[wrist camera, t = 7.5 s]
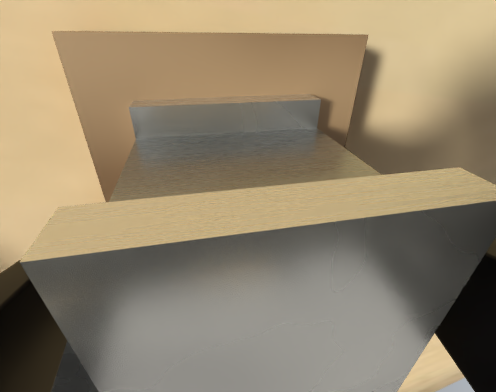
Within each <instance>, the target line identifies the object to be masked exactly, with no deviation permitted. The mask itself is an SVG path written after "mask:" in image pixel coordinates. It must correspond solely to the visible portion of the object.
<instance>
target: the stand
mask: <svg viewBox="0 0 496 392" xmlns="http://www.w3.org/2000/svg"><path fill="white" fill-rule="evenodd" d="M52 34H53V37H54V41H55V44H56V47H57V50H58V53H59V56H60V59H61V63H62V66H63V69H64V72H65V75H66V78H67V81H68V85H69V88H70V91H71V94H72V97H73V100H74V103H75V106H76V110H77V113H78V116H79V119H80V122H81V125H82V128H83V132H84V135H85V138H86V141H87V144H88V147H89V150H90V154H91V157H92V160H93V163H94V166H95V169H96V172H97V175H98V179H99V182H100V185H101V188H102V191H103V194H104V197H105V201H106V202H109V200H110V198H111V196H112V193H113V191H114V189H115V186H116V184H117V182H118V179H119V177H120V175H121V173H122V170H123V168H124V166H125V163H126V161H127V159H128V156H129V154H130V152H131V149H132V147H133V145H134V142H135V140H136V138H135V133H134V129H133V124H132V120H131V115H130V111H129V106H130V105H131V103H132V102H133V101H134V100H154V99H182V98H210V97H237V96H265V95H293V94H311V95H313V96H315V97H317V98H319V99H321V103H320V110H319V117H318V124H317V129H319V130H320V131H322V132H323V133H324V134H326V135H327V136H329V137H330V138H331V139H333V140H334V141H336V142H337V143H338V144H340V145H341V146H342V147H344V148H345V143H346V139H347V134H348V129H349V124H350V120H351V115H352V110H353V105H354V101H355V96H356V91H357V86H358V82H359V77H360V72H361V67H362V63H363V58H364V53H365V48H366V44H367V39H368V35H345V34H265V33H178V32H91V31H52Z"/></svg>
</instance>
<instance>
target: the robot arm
mask: <svg viewBox="0 0 496 392" xmlns="http://www.w3.org/2000/svg"><path fill="white" fill-rule="evenodd" d="M21 260H22V259H21ZM21 260H19V261H18V262H16V263H15V264H13V265H12V266H10V267H9V268H7V269H6V270H5V271H3V272H2V273H0V392H51V390H52V387H53V384H54V381H55V378H56V375H57V372H58V368H59V365H60V362H61V359H62V356H63V353H64V350H65V347H66V343H67V339H66V338H65V336H64V334H63V333H62V331H61V329H60V328H59V326H58V324H57V323H56V321H55V320H54V318H53V316H52V315H51V313H50V311H49V310H48V308H47V306H46V305H45V303H44V302H43V300H42V298H41V297H40V295H39V293H38V292H37V290H36V288H35V287H34V285H33V284H32V282H31V280H30V279H29V277H28V275H27V274H26V272H25V271H24V269H23V267H22V266H21V264H20V261H21ZM435 334H436V336H437V337H438V338H439V340H440V341H441V343H442V344H443V346H444V347H445V349H446V350H447V352H448V353H449V355H450V356H451V357H452V359H453V360H454V362H455V363H456V365H457V366H458V368H459V369H460V371H461V372H462V374H463V375H464V376H465V378H466V379H467V381H468V382H469V384H470V385H471V387H472V388H473V390H474V391H475V392H496V237H495V239H494V241H493V242H492V244H491V245H490V247H489V248H488V250H487V252H486V253H485V255H484V256H483V258H482V259H481V261H480V263H479V264H478V266H477V267H476V269H475V270H474V272H473V273H472V275H471V277H470V278H469V280H468V281H467V283H466V284H465V286H464V288H463V289H462V291H461V292H460V294H459V295H458V297H457V299H456V300H455V302H454V303H453V305H452V306H451V308H450V309H449V311H448V313H447V314H446V316H445V317H444V319H443V320H442V322H441V324H440V325H439V327H438V328H437V330H436V331H435Z"/></svg>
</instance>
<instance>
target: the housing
mask: <svg viewBox="0 0 496 392" xmlns="http://www.w3.org/2000/svg"><path fill="white" fill-rule="evenodd" d="M320 103H321V99H319V98H317V97H315V96H313V95H311V94H293V95H265V96H237V97H210V98H182V99H154V100H134V101H133V102H132V103H131V105H130V106H129V111H130V115H131V120H132V124H133V129H134V133H135V138H136V140H135V142H134V145H133V147H132V149H131V152H130V154H129V156H128V159H127V161H126V163H125V166H124V168H123V170H122V173H121V175H120V177H119V179H118V182H117V184H116V186H115V189H114V191H113V193H112V196H111V198H110V200H109V202H105V203H95V204H85V205H75V206H65V207H58V208H57V210H56V211H55V213H54V214H53V216H52V217H51V218H50V220H49V221H48V223H47V224H46V226H45V227H44V228H43V230H42V231H41V233H40V234H39V235H38V237H37V238H36V240H35V241H34V243H33V244H32V245H31V247H30V248H29V250H28V251H27V253H26V254H25V255H24V257H23V258H22V260H21V261H20V264H21V266H22V267H23V269H24V271H25V272H26V274H27V275H28V277H29V279H30V280H31V282H32V284H33V285H34V287H35V288H36V290H37V292H38V293H39V295H40V297H41V298H42V300H43V302H44V303H45V305H46V306H47V308H48V310H49V311H50V313H51V315H52V316H53V318H54V320H55V321H56V323H57V324H58V326H59V328H60V329H61V331H62V333H63V334H64V336H65V338H66V339H67V341H68V342H69V344H70V346H71V347H72V349H73V351H74V352H75V354H76V356H77V357H78V359H79V360H80V362H81V364H82V365H83V367H84V369H85V370H86V372H87V373H88V375H89V377H90V378H91V380H92V382H93V383H94V385H95V387H96V388H97V390H98V391H99V392H397V391H398V389H399V388H400V386H401V385H402V383H403V381H404V380H405V378H406V377H407V375H408V374H409V372H410V371H411V369H412V367H413V366H414V364H415V363H416V361H417V360H418V358H419V356H420V355H421V353H422V352H423V350H424V349H425V347H426V345H427V344H428V342H429V341H430V339H431V338H432V336H433V335H434V333H435V331H436V330H437V328H438V327H439V325H440V324H441V322H442V320H443V319H444V317H445V316H446V314H447V313H448V311H449V309H450V308H451V306H452V305H453V303H454V302H455V300H456V299H457V297H458V295H459V294H460V292H461V291H462V289H463V288H464V286H465V284H466V283H467V281H468V280H469V278H470V277H471V275H472V273H473V272H474V270H475V269H476V267H477V266H478V264H479V263H480V261H481V259H482V258H483V256H484V255H485V253H486V252H487V250H488V248H489V247H490V245H491V244H492V242H493V241H494V239H495V237H496V185H495V184H493V183H491V182H489V181H487V180H485V179H483V178H480V177H478V176H476V175H474V174H472V173H470V172H468V171H466V170H464V169H462V168H460V167H458V168H448V169H438V170H428V171H417V172H407V173H397V174H387V175H382V174H380V173H379V172H377V171H376V170H375V169H373V168H372V167H370V166H369V165H368V164H366V163H365V162H363V161H362V160H361V159H359V158H358V157H356V156H355V155H354V154H352V153H351V152H349V151H348V150H347V149H345V148H344V147H342V146H341V145H340V144H338V143H337V142H336V141H334V140H333V139H331V138H330V137H329V136H327V135H326V134H324V133H323V132H322V131H320V130H319V129H317V124H318V117H319V110H320Z"/></svg>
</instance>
